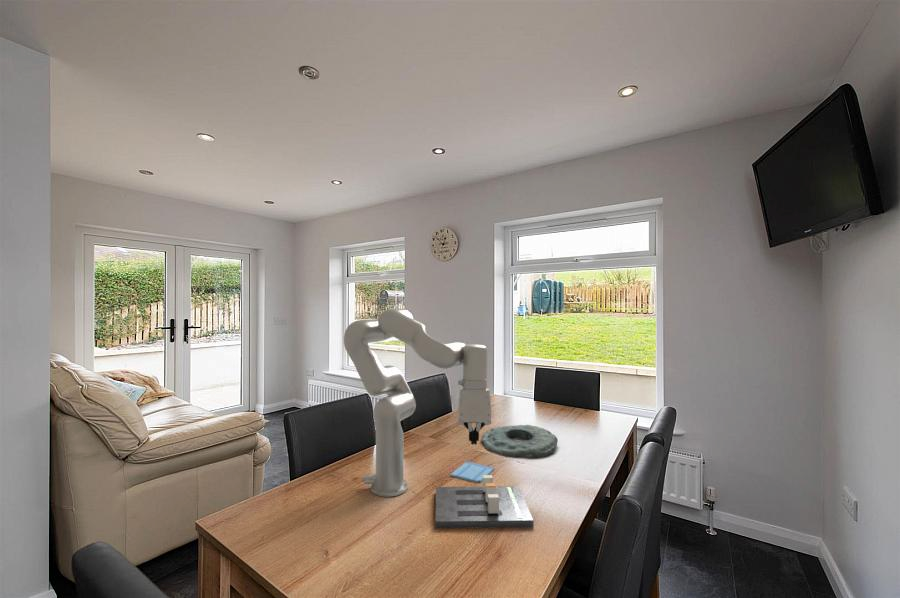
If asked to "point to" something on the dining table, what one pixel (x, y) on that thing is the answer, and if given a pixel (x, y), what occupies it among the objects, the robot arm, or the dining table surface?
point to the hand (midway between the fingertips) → (473, 442)
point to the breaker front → (493, 503)
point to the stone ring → (534, 447)
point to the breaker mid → (489, 490)
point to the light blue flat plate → (472, 472)
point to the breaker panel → (480, 508)
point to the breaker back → (487, 480)
